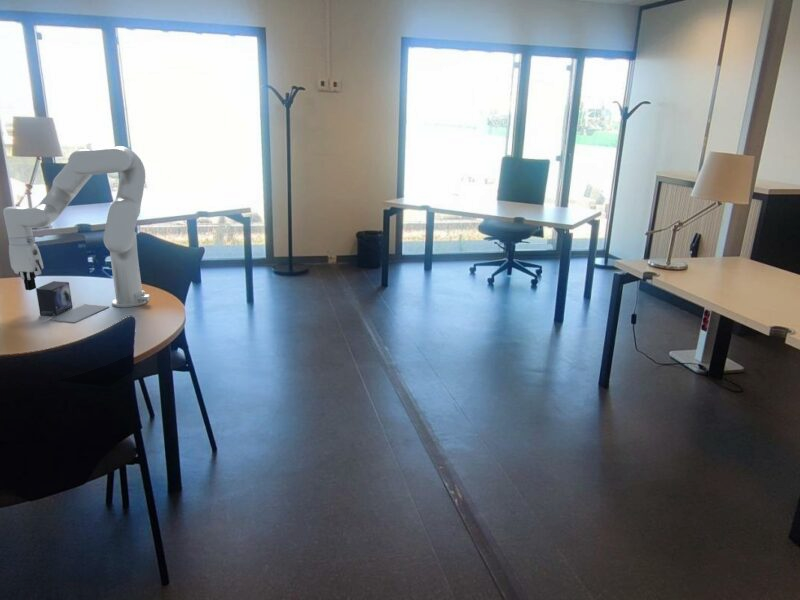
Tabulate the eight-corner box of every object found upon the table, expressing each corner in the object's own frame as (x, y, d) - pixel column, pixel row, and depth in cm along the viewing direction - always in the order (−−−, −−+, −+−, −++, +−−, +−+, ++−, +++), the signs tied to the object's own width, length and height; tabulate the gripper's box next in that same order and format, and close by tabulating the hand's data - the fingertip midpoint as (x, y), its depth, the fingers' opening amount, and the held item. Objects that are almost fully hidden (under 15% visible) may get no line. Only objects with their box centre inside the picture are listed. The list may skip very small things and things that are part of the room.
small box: (57, 316, 200) (52, 289, 197) (39, 316, 200) (34, 288, 197) (74, 307, 210) (69, 281, 207) (57, 307, 210) (52, 280, 207)
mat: (109, 307, 211) (109, 306, 211) (74, 323, 194) (74, 322, 194) (85, 305, 213) (85, 304, 213) (48, 320, 196) (48, 319, 196)
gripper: (47, 240, 201) (56, 287, 207) (12, 237, 203) (22, 285, 209) (31, 244, 194) (40, 293, 199) (-5, 241, 196) (5, 290, 202)
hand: (30, 289), depth 204 cm, fingers closed
